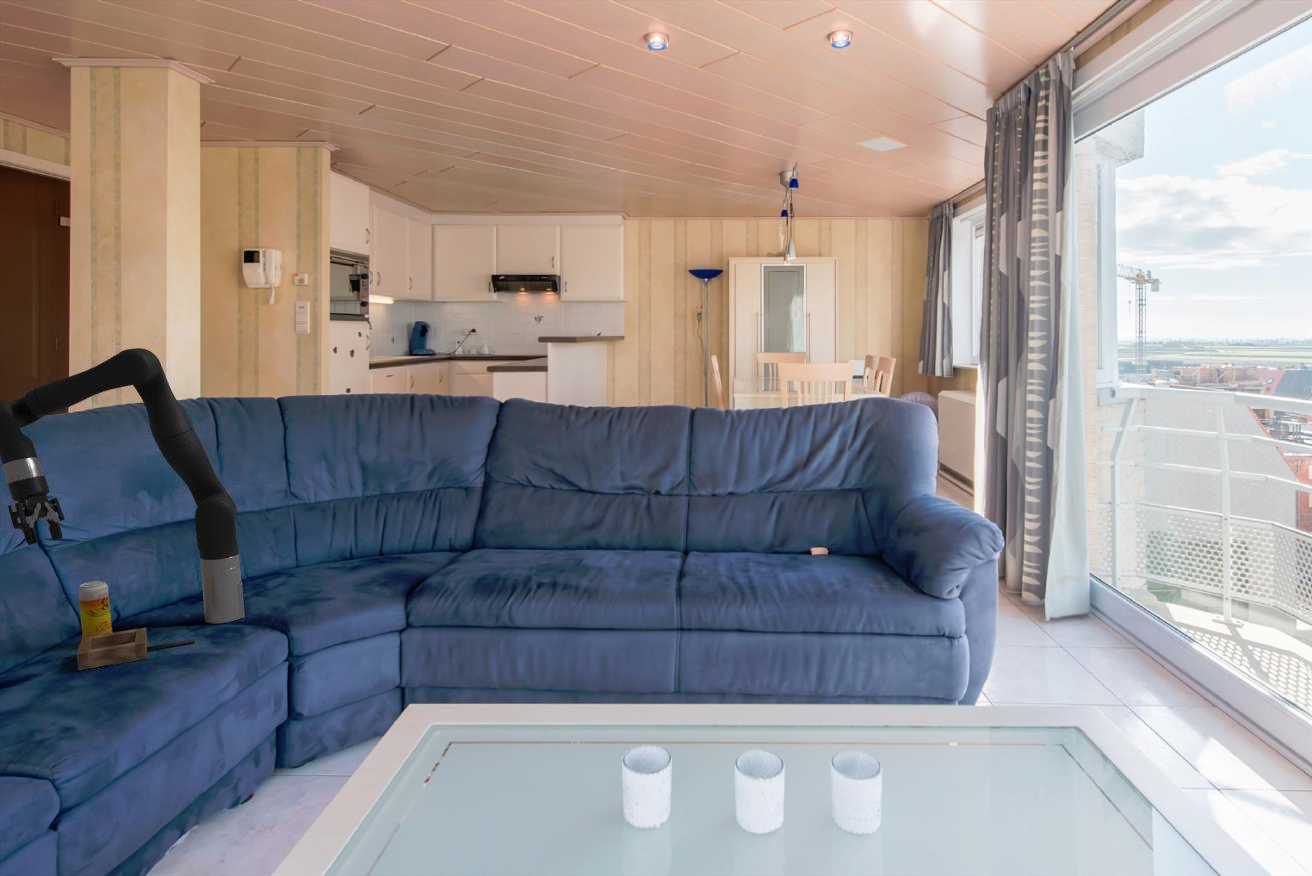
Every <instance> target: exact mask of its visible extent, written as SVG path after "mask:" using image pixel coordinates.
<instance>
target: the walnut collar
mask: <svg viewBox="0 0 1312 876" xmlns="http://www.w3.org/2000/svg"><path fill="white" fill-rule="evenodd" d="M195 641H196V640H195V638H192V639H185V640H179V641H175V642H173V641H172V642H168V643H163V644H158V645H157V644H156V645H151V646H148V635H147V627H141V628H140V627H139V628H134V629H129V630H123V631H117V632H112V633H109V634H103V635H97V636H90V637H84V638H83V637H81V640H80V643H79V645H78V650H77V651H76V652H77V653H76V661H77V669H78V670H84V669H88V668H95V667H99V666H103V665H110V664H114V663H123V662H128V661H135V660H139V659H146V656H148V655H147V654H148V652H149V651H148V650H151V651H155V650H154V649H157V650H160V649H159V648H163V649H167V648H166V647H168V648H171V647H170V646H173V645H180V646H182V645H181V644H186V645H188V644H187V643H191V644H195V643H196V642H195ZM146 660H147V659H146ZM78 670H77V671H78Z"/></svg>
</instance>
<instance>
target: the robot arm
mask: <svg viewBox="0 0 1312 876" xmlns="http://www.w3.org/2000/svg"><path fill="white" fill-rule="evenodd" d="M164 371H165V370H164V369H163V366H162V363H161V361H160V359H159V358H158V356H157V355H156V354H154V352H152V351H151V350H148V349H147V348H143V347H142V348H141V347H137V348H135V347H134V348H127V349H123V350H120V351H119V352H118V353H117V354H115V355H113V356H112V357H110V358H108V359H107V360H104V361H102V362H101V363H99V364H97V365H95V366H93V367H90V368H89V369H86V370H84V371H81V372H78V373H76V374H73V375H70V376H67V377H64V378H61V379H58V380H55V381H52V382H48V383H46V384H44V385H40V386H38V387H35V388H32V389H30V390H29V391H27V392H26V393H25V395H24V396H23V397H21V398H18V399H15V400H11V401H10V400H2V399H0V461H1V464H2V466H3V473H4V478H5V480H6V484H7V487H8V490H9V494H10V496H11V499H12V501H13V502H15V503H12V504H9V505H7V509H8V512H9V515H10V519H11V522H12V523H11V524H12V526H13V529H14V530H17V529H18V530H20V531H22V533H23V537H24V538H25V542H26V544H27V545H28V546H32V545H35V544H38V543H39V537H38V535H37V531H36V529H35V527H34V525H35V522H36V521H37V520H38V519H39V520H40V521H42V522H45V523H46V525H48V531H49V532H50V533H49V534H50V537H51V539H52V540H53V541H59V540H60V539H63V532H62V529H61V525H60V524H61V522H62V521H64V520H65V515H64V513H63V510H62V508H61V504H60V501H59V500H58V498H57V497H54V498H50V499H48V498H47V495H48V494H49V493H50V491H51V490H50V487H49V485H48V481H47V479H46V475H45V472H44V470H43V466H42V464H41V462H40V460H39V458H38V454H37V452H36V448H35V446H34V445H35V444H34V443H33V440H32V439H31V437H29V436H27V435H25V434H24V433H23V431H22V430H21V428H25V427H27V426H29V425H31V424H34V423H36V422H37V421H39V420H41V419H43V418H44V417H45V416H48V415H51V414H54V413H57V412H59V411H62V410H65V409H68V408H71V407H72V406H75V405H77V404H79V403H81V402H84V401H85V400H87V399H89V398H91V397H93V396H96V395H99V394H101V393H105V392H107V391H111V390H114V389H115V390H116V389H119V388H125V387H129V386H133V387H134V389H135V391H136V392H137V394H138V395H139V397H140V399H141V400H142V402H143V404H144V407H145V409H146V414H147V418H148V423H149V428H150V431H151V435H152V438H153V440H154V442H155V444H156V446H157V447H158V449H159V451H160V453H161V454H162V456H163V458H164V460H165V461H166V462H167V463H168V465H169V466H170V467H171V469H172V470H173V471H174V472H175V473H176V475H178V477H179V478H180V479H181V480H182V481H183V482H184V483H185V485H186V487H187V488H188V489H189V491H190V494H191V495H192V498H193V500H194V502H195V505H196V509H195V513H194V523H195V536H196V545H197V549H198V552H199V560H200V561H199V562H200V571H201V572H200V574H201V585H202V597H203V598H202V599H203V610H204V613H203V614H204V622H205V623H208V624H224V623H230V622H233V621H237V620H239V619H240V620H241V619H245V618H246V617H245V606H244V593H243V582H242V576H241V575H242V573H241V563H240V547H239V542H238V539H237V529H236V528H237V527H236V517H237V514H238V509H237V505H236V503H235V501H234V500H233V498H232V496H231V495H230V494H229V493H228V491H227V490H226V488H225V487H224V485H223V484H222V482H221V481H220V479H219V478H218V476H217V474H216V472H215V471H214V469H213V466H212V463H211V461H210V459H209V457H208V455H207V453H206V450H205V447H204V446H203V444H202V442H201V439H200V438H199V436H198V434H197V432H196V431H195V429H194V427H193V425H192V424H191V422H190V420H189V418H188V417H187V415H186V413H185V411H184V410H183V408H182V406H181V404H180V403H179V401H178V400H177V398H176V397H175V394H174V392H173V391H172V389H171V386H170V383H169V381H168V378H167V376H166V373H165V372H164ZM18 519H19V520H18Z"/></svg>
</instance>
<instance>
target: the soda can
mask: <svg viewBox="0 0 1312 876" xmlns="http://www.w3.org/2000/svg"><path fill="white" fill-rule="evenodd" d="M77 593H78V604H79V606H78V607H79V615H80V616H79V617H80V623H81V624H80V626H81V632H82V633H81V634H82V638H84V637H90V636H97V635H103V634H109V633H113V627H112V616H111V605H110V595H109V586H108V584H107V583H106V581H105V580H94V581H93V580H92V581H88V582H83V583H82V584H80V585H79V587H78V589H77Z"/></svg>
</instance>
